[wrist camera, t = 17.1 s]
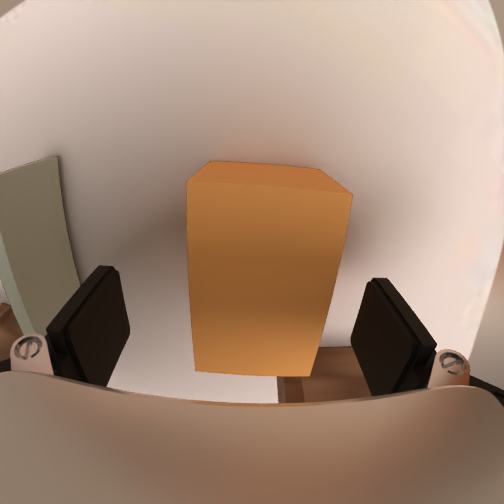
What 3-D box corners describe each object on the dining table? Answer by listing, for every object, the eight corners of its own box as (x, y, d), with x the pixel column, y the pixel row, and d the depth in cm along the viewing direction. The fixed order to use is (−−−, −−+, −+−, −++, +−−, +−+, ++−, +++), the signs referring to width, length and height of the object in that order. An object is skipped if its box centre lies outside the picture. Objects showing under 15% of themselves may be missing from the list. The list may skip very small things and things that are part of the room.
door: (100, 346, 17) (72, 399, 13) (74, 341, 17) (44, 390, 13) (57, 156, 12) (-9, 178, 7) (28, 161, 12) (-34, 184, 7)
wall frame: (11, 325, 18) (-26, 372, 12) (2, 303, 17) (-40, 349, 11) (373, 365, 18) (401, 438, 12) (384, 340, 17) (419, 416, 11)
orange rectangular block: (209, 305, 16) (195, 370, 12) (211, 160, 13) (186, 181, 8) (297, 310, 16) (309, 376, 12) (318, 168, 13) (353, 194, 8)
